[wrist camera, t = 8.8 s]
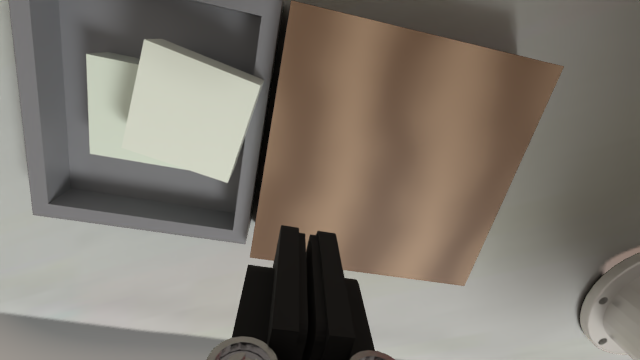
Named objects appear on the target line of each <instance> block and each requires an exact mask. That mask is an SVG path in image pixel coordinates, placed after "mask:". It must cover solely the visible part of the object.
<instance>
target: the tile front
mask: <svg viewBox="0 0 640 360" xmlns="http://www.w3.org/2000/svg"><path fill="white" fill-rule="evenodd" d="M263 82H264V80H263V79H261V78H258V77H256V76H253V75H251V74H248V73H246V72H243V71H241V70H238V69H236V68H233V67H231V66H228V65H226V64H223V63H221V62H219V61H216V60H214V59H211V58H209V57H206V56H204V55H201V54H199V53H196V52H194V51H191V50H189V49H186V48H184V47H181V46H179V45H176V44H174V43H171V42H169V41H167V40H164V39H144V42H143V47H142V51H141V56H140V61H139V66H138V71H137V75H136V80H135V85H134V90H133V95H132V99H131V104H130V109H129V114H128V119H127V123H126V128H125V133H124V138H123V143H122V147H121V148H124V149H127V150H130V151H133V152H136V153H139V154H142V155H145V156H148V157H151V158H154V159H157V160H160V161H163V162H166V163H169V164H172V165H175V166H178V167H181V168H184V169H187V170H190V171H193V172H196V173H199V174H202V175H205V176H208V177H211V178H214V179H217V180H220V181H223V182H226V183H228V181H229V179H230V177H231V175H232V172H233V170H234V168H235V165H236V162H237V159H238V156H239V153H240V150H241V147H242V144H243V141H244V139H245V136H246V133H247V130H248V127H249V124H250V121H251V118H252V115H253V112H254V109H255V106H256V103H257V100H258V97H259V94H260V91H261V88H262V85H263Z"/></svg>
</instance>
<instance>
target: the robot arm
mask: <svg viewBox="0 0 640 360" xmlns="http://www.w3.org/2000/svg"><path fill="white" fill-rule="evenodd" d="M580 324H581V327H582V330H583V332H584V334H585V335H586V337H587V338H588V339H589V340H590V341H591V342H592V343H593V344H594V345H595V346H596V347H598V348H600V349H601V350H603V351H605V352H609V353H612V354H620V355H629V356H630V357H631V358H632V359H633V360H640V253H637V254H635V255H633V256H631V257H629V258H627V259H625V260H623V261H622V262H620V263H618V264H617V265H615V266H614V267H612V268H611V269H610V270H609V271H608V272H606V273H605V274H604V275H603V276H602V277H601V278H600V279H599V280H598V281H597V282H596V283H595V284H594V285H593V287H592V288H591V290H590V291H589V293H588V294H587V296H586V298H585V300H584V302H583V305H582V309H581V313H580ZM206 360H395V359H393V358H392V357H390V356H389V355H387V354H384V353H381V352H379V351H375V349H374V345H373V341H372V337H371V333H370V329H369V325H368V321H367V316H366V312H365V308H364V304H363V300H362V296H361V292H360V288H359V284H358V281H357V280H355V279H348V278H344V274H343V268H342V263H341V258H340V253H339V247H338V242H337V237H336V234H335V233H330V232H323V231H317V233H316V235H312V234H310V236H309V240H308V245H307V249H306V239H305V233H299V228H297V227H291V226H284V225H281V228H280V233H279V238H278V243H277V248H276V254H275V259H274V264H273V268H268V267H261V266H253V265H248V268H247V272H246V277H245V281H244V286H243V290H242V295H241V299H240V304H239V308H238V313H237V317H236V322H235V326H234V331H233V335H232V338H230V339H228V340H225V341H223V342H221V343H220V344H219V345H218V346H216V347H215V348H214V349H213V350H212V351H211V353H210V354H209V356H208V357H207V359H206Z"/></svg>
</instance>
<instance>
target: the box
mask: <svg viewBox="0 0 640 360" xmlns="http://www.w3.org/2000/svg"><path fill="white" fill-rule="evenodd" d="M9 8H10V17H11V26H12V35H13V43H14V52H15V61H16V70H17V79H18V87H19V96H20V105H21V114H22V123H23V131H24V140H25V149H26V158H27V167H28V175H29V184H30V193H31V202H32V211H33V215H38V216H45V217H52V218H59V219H67V220H74V221H81V222H88V223H96V224H103V225H110V226H117V227H125V228H132V229H139V230H146V231H154V232H161V233H168V234H175V235H182V236H190V237H197V238H204V239H211V240H219V241H226V242H233V243H240V244H246V239H247V235H248V231H249V227H250V222H251V215H252V209H253V202H254V196H255V189H256V183H257V176H258V170H259V163H260V157H261V150H262V144H263V137H264V131H265V124H266V118H267V112H268V105H269V99H270V92H271V86H272V79H273V73H274V66H275V60H276V53H277V47H278V40H279V34H280V27H281V21H282V14H283V8H284V4H283V1H282V0H9ZM144 39H164V40H167V41H169V42H171V43H174V44H176V45H179V46H181V47H184V48H186V49H189V50H191V51H194V52H196V53H199V54H201V55H204V56H206V57H209V58H211V59H214V60H216V61H219V62H221V63H223V64H226V65H228V66H231V67H233V68H236V69H238V70H241V71H243V72H246V73H248V74H251V75H253V76H256V77H258V78H261V79H263V80H264V82H263V85H262V88H261V91H260V94H259V97H258V100H257V103H256V106H255V109H254V112H253V115H252V118H251V121H250V124H249V127H248V130H247V133H246V136H245V139H244V141H243V144H242V147H241V150H240V153H239V156H238V159H237V162H236V165H235V168H234V170H233V172H232V175H231V177H230V179H229V181H228V183H226V182H223V181H220V180H217V179H214V178H211V177H208V176H205V175H202V174H199V173H196V172H193V171H190V170H184V169H178V168H172V167H166V166H160V165H154V164H148V163H142V162H136V161H130V160H124V159H118V158H112V157H106V156H100V155H94V154H90V146H89V119H88V92H87V65H86V54H90V53H102V52H111V53H116V54H121V55H126V56H130V57H135V58H140V56H141V51H142V47H143V42H144Z"/></svg>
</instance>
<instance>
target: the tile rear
mask: <svg viewBox="0 0 640 360" xmlns="http://www.w3.org/2000/svg"><path fill="white" fill-rule="evenodd" d="M139 61H140V58H135V57H130V56H126V55H121V54H116V53H111V52H102V53H90V54H86V65H87V92H88V119H89V146H90V154H94V155H100V156H106V157H112V158H118V159H124V160H130V161H136V162H142V163H148V164H154V165H160V166H166V167H172V168H178V169H184V168H181V167H178V166H175V165H172V164H169V163H166V162H163V161H160V160H157V159H154V158H151V157H148V156H145V155H142V154H139V153H136V152H133V151H130V150H127V149H124V148H121V147H122V143H123V138H124V133H125V128H126V123H127V119H128V114H129V109H130V104H131V99H132V95H133V90H134V85H135V80H136V75H137V71H138V66H139ZM184 170H187V169H184Z"/></svg>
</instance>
